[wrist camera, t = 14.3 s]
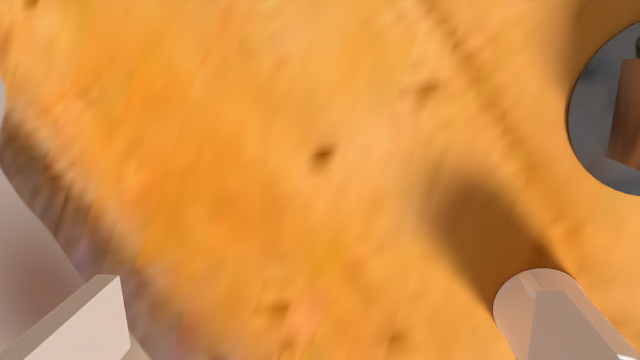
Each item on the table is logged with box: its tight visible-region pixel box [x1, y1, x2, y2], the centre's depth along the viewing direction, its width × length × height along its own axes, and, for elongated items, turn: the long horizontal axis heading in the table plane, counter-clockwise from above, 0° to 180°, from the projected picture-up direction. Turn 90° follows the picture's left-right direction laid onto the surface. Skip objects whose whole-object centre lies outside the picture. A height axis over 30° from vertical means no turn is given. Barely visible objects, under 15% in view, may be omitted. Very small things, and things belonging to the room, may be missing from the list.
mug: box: [493, 268, 640, 360], centre depth 36 cm, size 12×8×12 cm
